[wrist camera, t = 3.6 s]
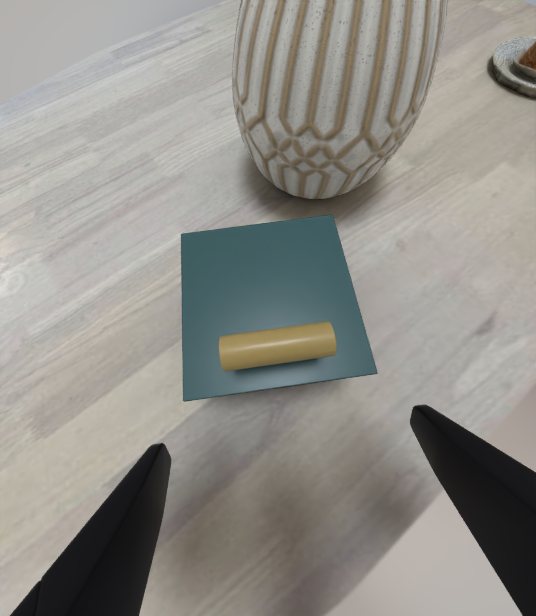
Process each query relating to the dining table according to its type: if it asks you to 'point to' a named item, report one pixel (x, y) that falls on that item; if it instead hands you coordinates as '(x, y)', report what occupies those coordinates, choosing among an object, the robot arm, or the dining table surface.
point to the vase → (331, 86)
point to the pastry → (517, 65)
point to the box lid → (268, 309)
